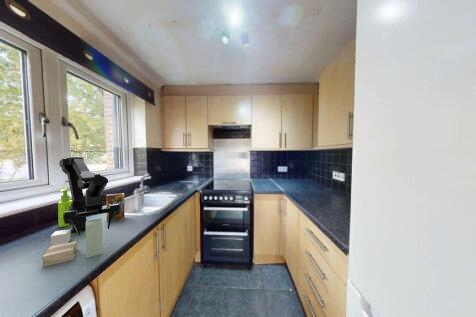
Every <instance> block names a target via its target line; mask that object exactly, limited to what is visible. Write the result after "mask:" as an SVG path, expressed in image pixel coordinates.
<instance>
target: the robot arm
mask: <svg viewBox="0 0 476 317" xmlns="http://www.w3.org/2000/svg"><path fill="white" fill-rule="evenodd" d="M84 159H85V158H84V157H83V156H81V155H80V156H70V157H64V158H62V159H60V160H59V163H58V164H59V168H61V170H62V172H63V173H64V174H65V175H66V176H67V180H68V185H69V189H70V190H69V191H70V196H71V200H72V203H71V204H70V206H69V210H68V211H66V212H65V213H64V214H63V219H64V223H65V224H69V225H70V226H71V228H70V229H71V233H77V235H78V236H81V232H83V231H86V221H87V218H88V217H92V216H97V215H104V214H107V213H109V218H108V221H107V229H108V230H110V227H111V224H112V222H113V221H114V220H113V218H114V217H116V216H117V215H119V214H120V209H121V208H120V204H113V205H110V206H109V208H107V207H106V208H103V203H106V201H107V198H106V196H107V194H106V193H105V194H102V192H104V191H105V189H106V187H107V185H108V184H109V179H108V178H107V177H105V176H104V175H102V174H101V173H94V172H92V171H90V168H88V166H87V164H86V162H85V160H84ZM85 189H86V190H85ZM83 190H85V196H84V192H83Z"/></svg>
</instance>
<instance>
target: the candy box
mask: <svg viewBox="0 0 476 317" xmlns="http://www.w3.org/2000/svg"><path fill="white" fill-rule="evenodd" d="M106 198H107V201H106V202H105V203H106V205H105V206H106V209H107V208H109V206H110V205H113V204H120V208H121V209H120V214H119V215H117V216H116V217H114V218H113V220H112V221H118V220H123V219H125V192H121V193H109V194H106ZM108 218H109V213H106V222H108Z"/></svg>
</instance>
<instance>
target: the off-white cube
mask: <svg viewBox="0 0 476 317" xmlns="http://www.w3.org/2000/svg"><path fill="white" fill-rule="evenodd" d="M71 229H72V228H69V229H61V230H55V231H54V232H53V233H52V234H51V235H50V246H54V245H59V244H64V243H69V242H71V240H72V236H71V234H72V232H71Z"/></svg>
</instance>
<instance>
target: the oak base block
mask: <svg viewBox="0 0 476 317" xmlns="http://www.w3.org/2000/svg"><path fill="white" fill-rule="evenodd" d="M77 252H78V240H75V241H69V242H68V243H64V244H59V245H54V246H51V245H50V246H49V247H48V248H47V250H46V251H45V253H44V254H43V255H42V259H41V260H42V267H47V266H51V265H56V264H60V263H65V262H69V261H73V260H74V258H75V256H76V254H77Z"/></svg>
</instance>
